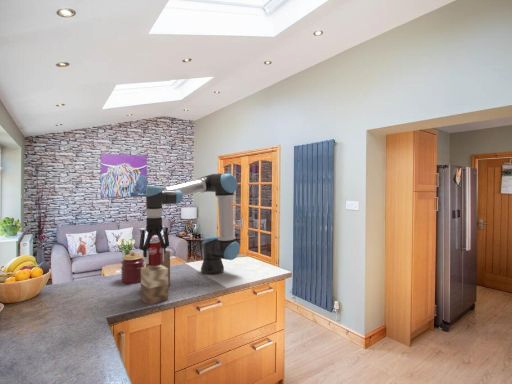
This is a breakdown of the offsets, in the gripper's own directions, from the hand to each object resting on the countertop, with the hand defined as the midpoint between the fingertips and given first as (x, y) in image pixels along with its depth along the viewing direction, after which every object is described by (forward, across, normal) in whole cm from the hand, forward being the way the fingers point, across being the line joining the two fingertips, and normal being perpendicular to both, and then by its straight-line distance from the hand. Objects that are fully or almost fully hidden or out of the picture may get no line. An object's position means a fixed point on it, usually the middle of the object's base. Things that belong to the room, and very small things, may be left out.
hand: (154, 261), depth 152 cm
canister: (+19, -1, -36) cm, 41 cm away
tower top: (+11, 0, 0) cm, 11 cm away
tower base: (+19, 0, 0) cm, 19 cm away
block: (+19, -8, -15) cm, 26 cm away
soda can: (+2, 0, 0) cm, 2 cm away
